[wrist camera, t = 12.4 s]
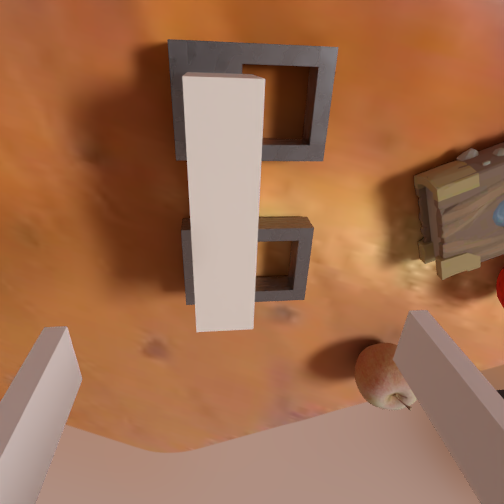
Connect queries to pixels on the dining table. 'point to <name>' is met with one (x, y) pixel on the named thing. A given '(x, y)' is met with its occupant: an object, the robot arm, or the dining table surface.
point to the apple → (500, 287)
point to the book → (462, 211)
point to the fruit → (382, 378)
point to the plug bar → (224, 193)
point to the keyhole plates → (306, 149)
